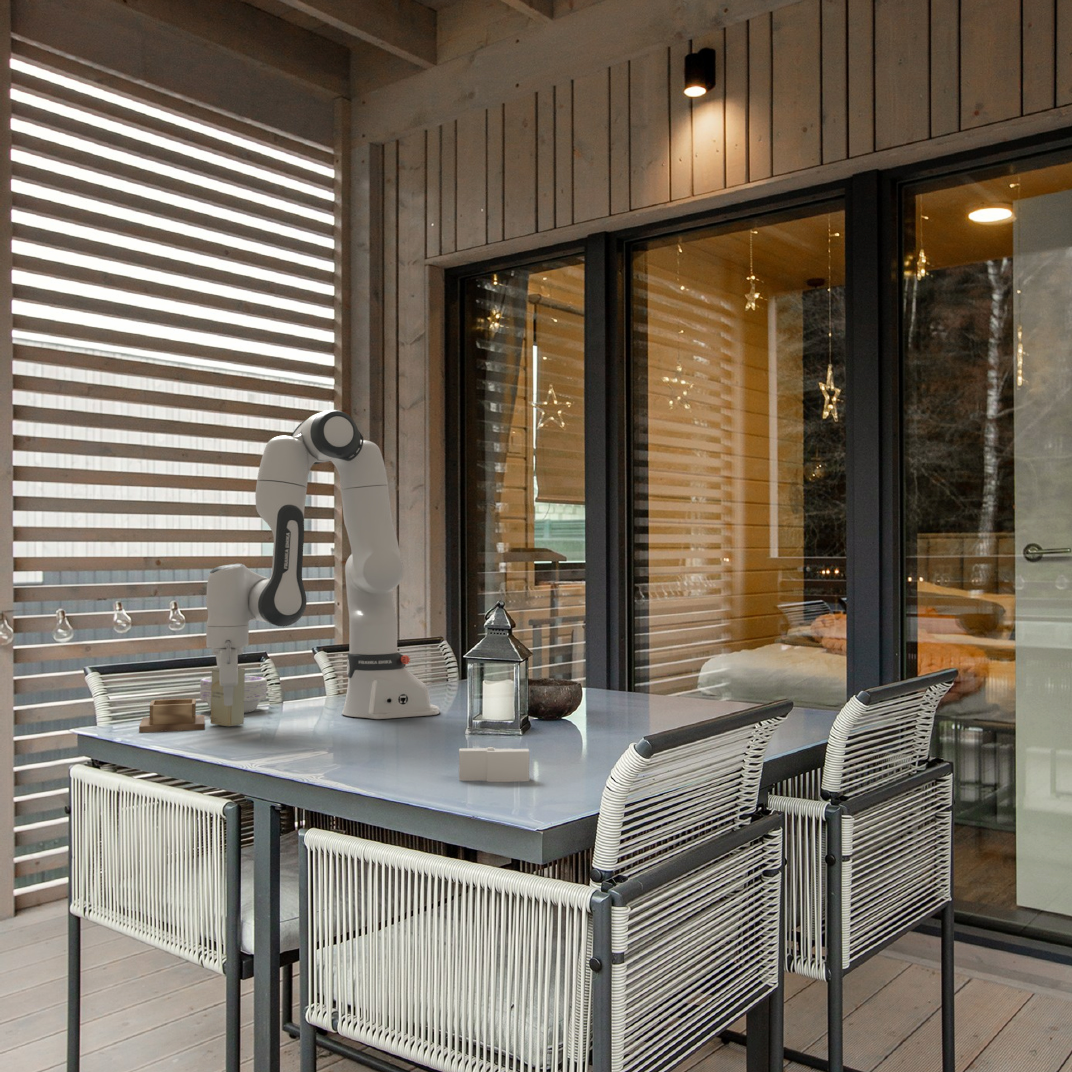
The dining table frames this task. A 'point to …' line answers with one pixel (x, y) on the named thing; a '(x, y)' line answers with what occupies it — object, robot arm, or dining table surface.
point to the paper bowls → (252, 691)
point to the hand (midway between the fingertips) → (227, 702)
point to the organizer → (172, 716)
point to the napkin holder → (493, 764)
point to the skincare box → (218, 709)
